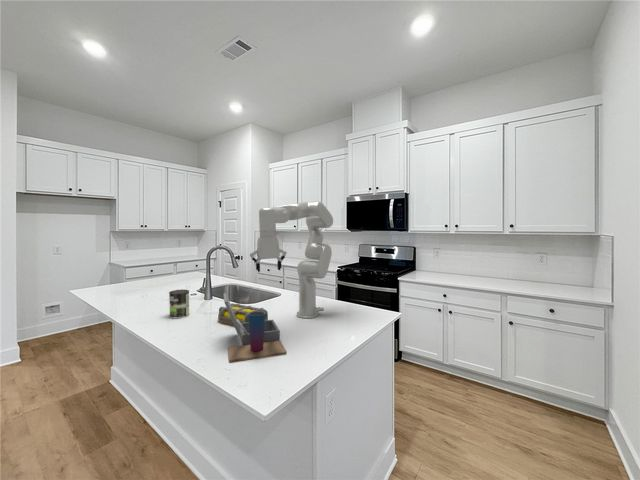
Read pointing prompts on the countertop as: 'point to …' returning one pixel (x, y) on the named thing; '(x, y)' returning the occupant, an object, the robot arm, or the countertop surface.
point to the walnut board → (246, 354)
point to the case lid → (232, 314)
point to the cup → (256, 330)
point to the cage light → (237, 314)
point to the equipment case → (269, 335)
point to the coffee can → (179, 303)
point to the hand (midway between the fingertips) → (269, 270)
